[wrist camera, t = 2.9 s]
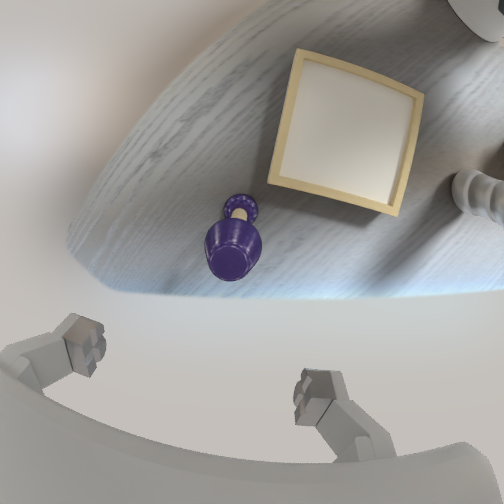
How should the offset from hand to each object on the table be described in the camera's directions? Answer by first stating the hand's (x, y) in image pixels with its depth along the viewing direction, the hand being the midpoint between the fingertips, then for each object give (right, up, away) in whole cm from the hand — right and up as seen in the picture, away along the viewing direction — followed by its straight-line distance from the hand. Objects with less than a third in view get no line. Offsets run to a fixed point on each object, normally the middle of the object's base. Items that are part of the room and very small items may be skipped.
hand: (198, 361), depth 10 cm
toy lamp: (+1, +9, +25) cm, 27 cm away
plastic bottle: (+33, +14, +22) cm, 42 cm away
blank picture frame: (+13, +19, +20) cm, 31 cm away
